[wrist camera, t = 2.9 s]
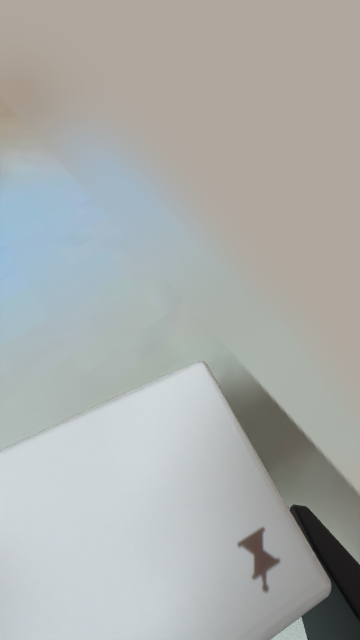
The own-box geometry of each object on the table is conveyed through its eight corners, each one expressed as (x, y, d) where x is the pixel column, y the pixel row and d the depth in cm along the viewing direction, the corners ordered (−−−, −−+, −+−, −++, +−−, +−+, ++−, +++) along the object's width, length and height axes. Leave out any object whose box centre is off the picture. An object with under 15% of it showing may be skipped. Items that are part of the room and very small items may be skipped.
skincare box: (183, 436, 16) (212, 350, 6) (219, 518, 14) (354, 601, 4) (77, 489, 15) (-129, 496, 4) (102, 588, 13) (-152, 992, 3)
